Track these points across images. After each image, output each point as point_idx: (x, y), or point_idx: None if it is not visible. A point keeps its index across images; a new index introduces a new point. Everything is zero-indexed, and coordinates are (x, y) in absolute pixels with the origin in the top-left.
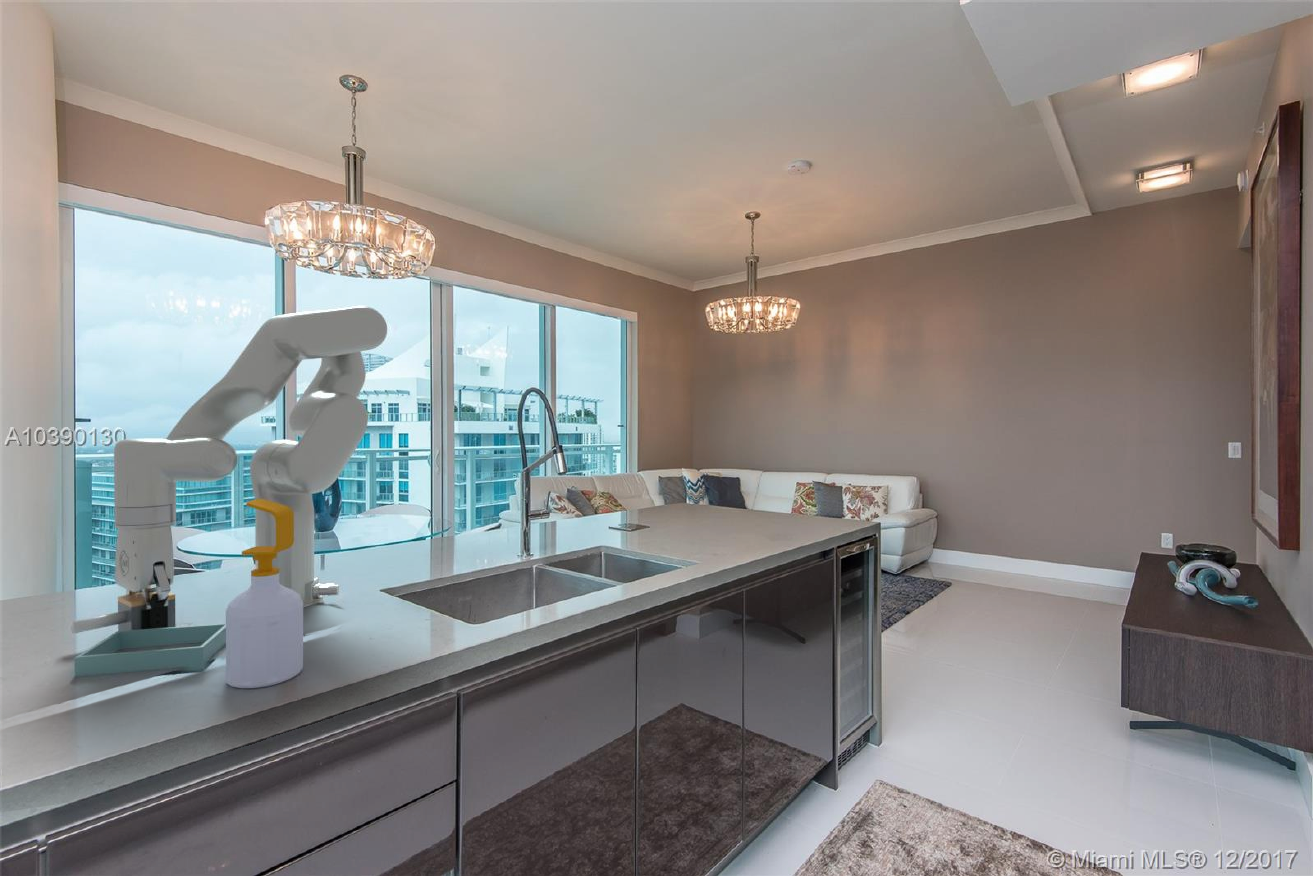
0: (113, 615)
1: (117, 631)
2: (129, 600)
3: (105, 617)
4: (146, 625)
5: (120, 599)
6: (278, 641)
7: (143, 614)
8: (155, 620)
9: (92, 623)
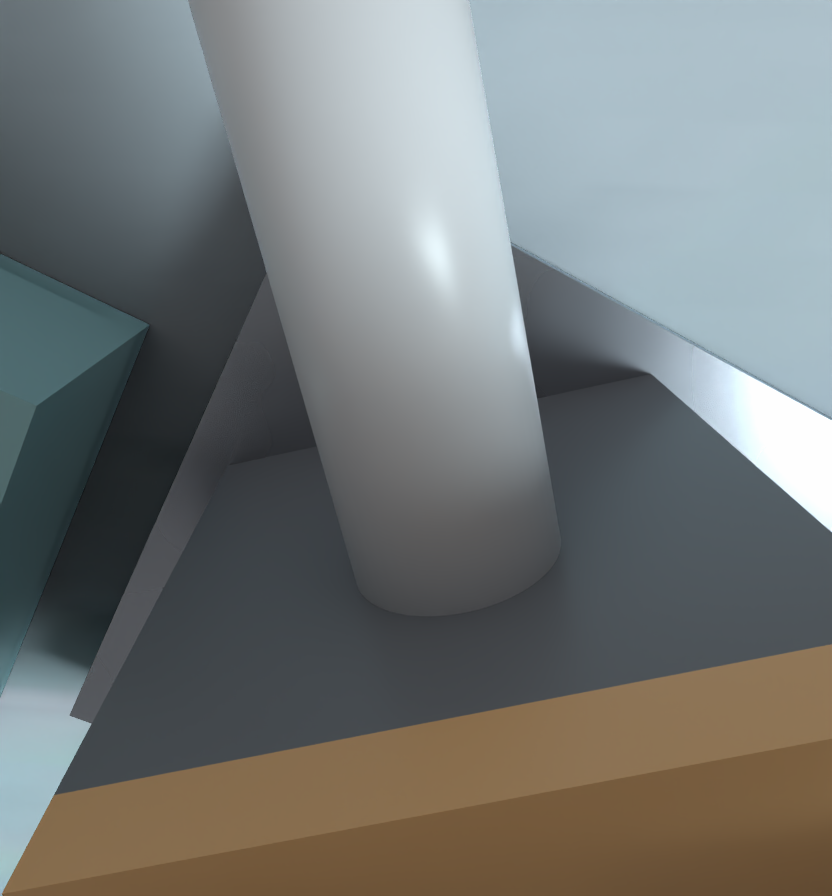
0: (353, 439)
1: (22, 403)
2: (305, 879)
3: (297, 309)
4: None
5: (790, 710)
6: None
7: None
8: None
9: (212, 71)
